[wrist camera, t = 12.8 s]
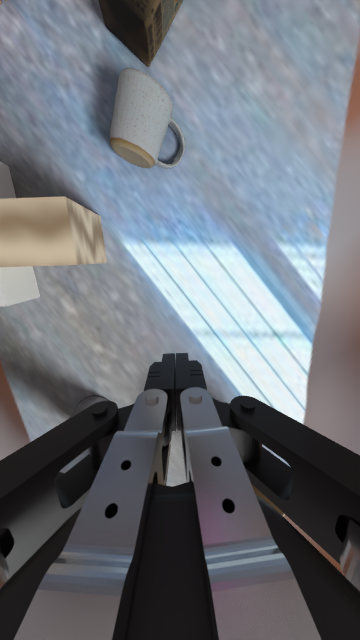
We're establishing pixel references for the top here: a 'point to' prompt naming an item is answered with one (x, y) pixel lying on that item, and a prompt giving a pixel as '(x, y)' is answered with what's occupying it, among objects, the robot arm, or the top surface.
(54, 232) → the maple block
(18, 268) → the white rectangular block
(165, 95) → the ceramic mug
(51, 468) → the robot arm
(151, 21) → the beverage carton
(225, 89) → the top surface
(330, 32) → the top surface
